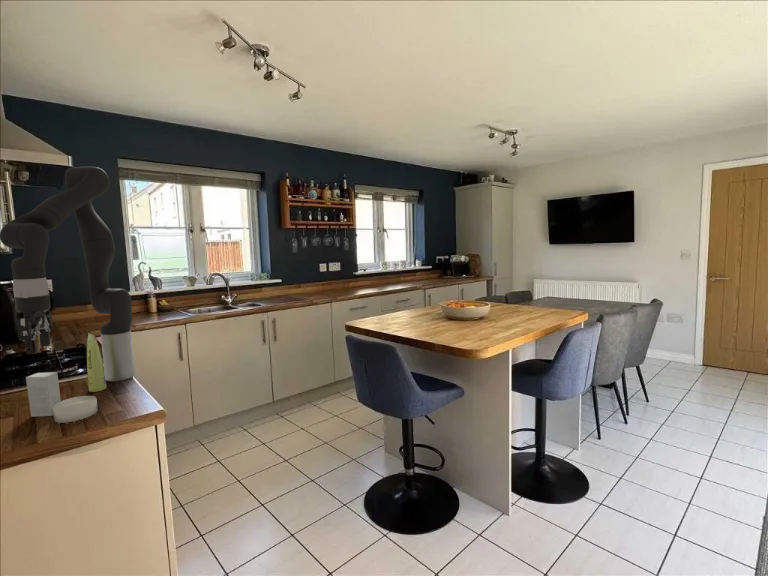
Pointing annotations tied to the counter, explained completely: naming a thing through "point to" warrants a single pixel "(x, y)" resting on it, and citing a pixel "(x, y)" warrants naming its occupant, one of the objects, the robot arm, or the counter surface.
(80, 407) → the stand
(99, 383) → the tube
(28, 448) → the counter surface
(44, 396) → the skincare box
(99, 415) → the counter surface
